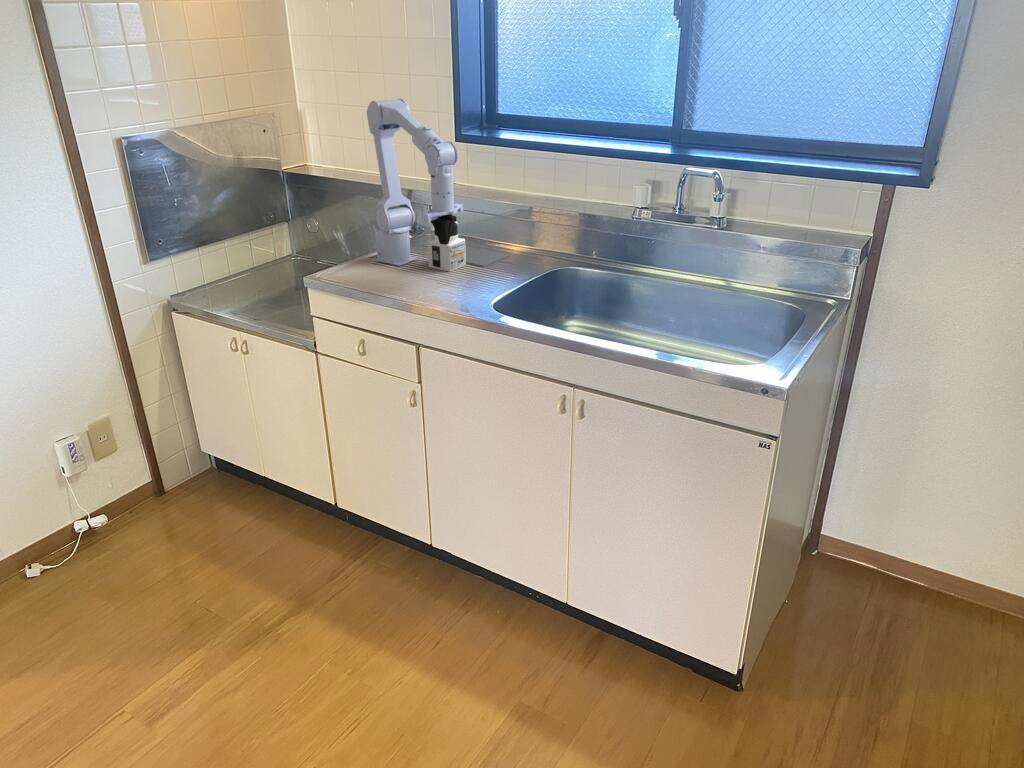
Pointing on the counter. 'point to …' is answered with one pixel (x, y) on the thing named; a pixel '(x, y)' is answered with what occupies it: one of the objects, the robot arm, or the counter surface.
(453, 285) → the counter surface
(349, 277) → the counter surface
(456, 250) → the container
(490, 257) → the mat
